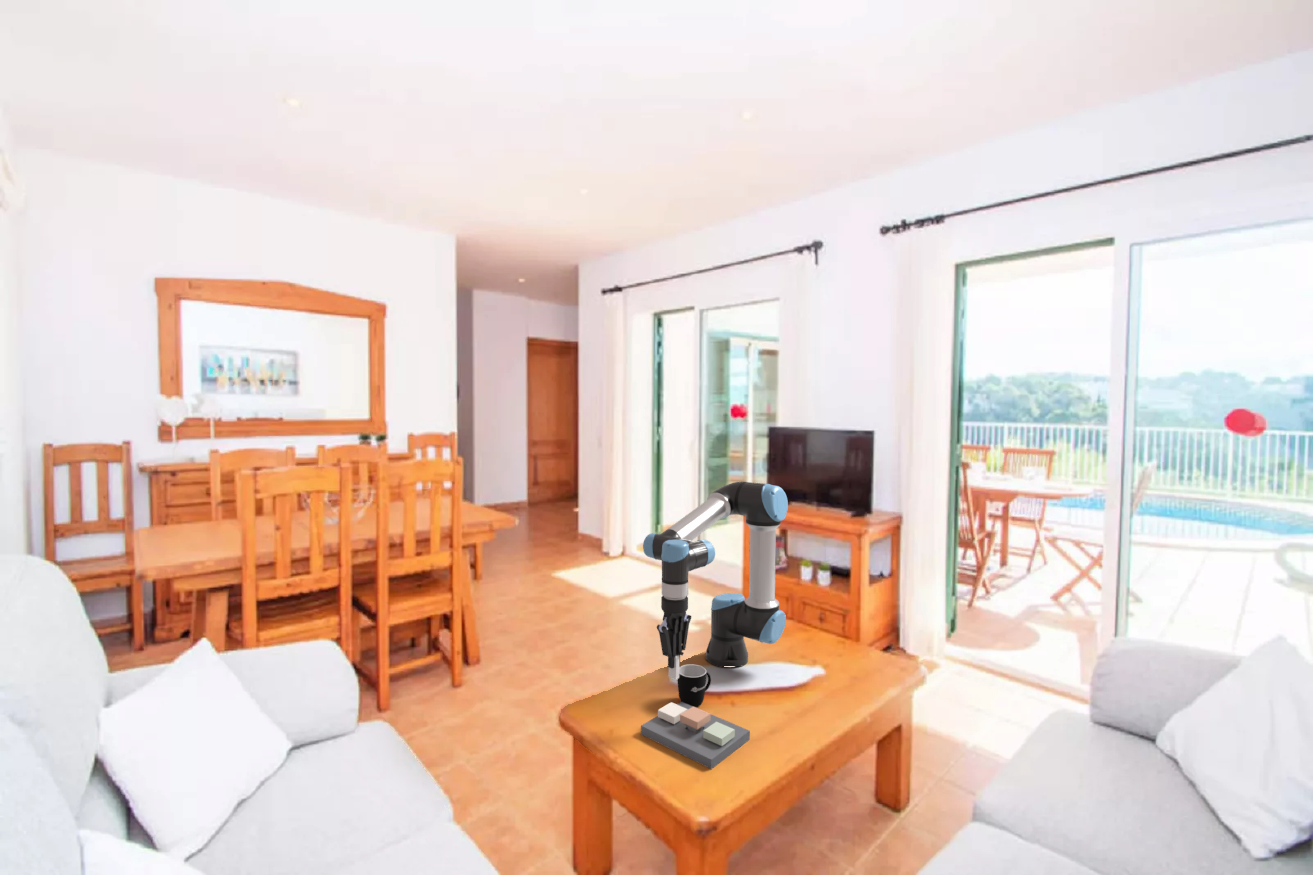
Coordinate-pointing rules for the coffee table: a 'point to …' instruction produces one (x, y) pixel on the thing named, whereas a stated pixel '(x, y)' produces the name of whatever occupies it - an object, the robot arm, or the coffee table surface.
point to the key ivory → (671, 712)
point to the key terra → (695, 719)
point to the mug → (692, 684)
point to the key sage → (719, 733)
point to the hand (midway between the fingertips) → (673, 677)
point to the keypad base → (694, 739)
